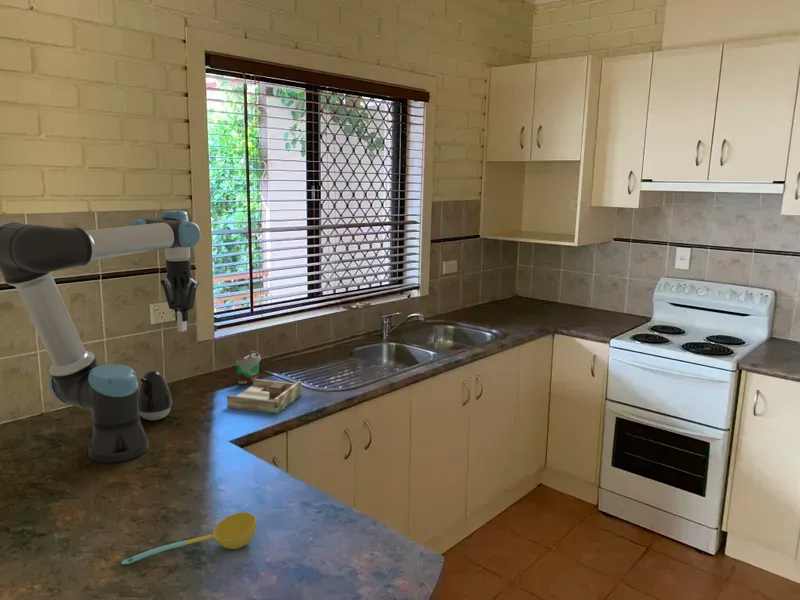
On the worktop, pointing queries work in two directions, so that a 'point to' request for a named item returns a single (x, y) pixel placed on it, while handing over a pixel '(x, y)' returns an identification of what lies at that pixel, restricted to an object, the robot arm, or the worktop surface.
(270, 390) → the walnut block
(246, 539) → the ladle
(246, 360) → the food container
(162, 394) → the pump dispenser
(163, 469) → the worktop surface
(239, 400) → the box
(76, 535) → the worktop surface
